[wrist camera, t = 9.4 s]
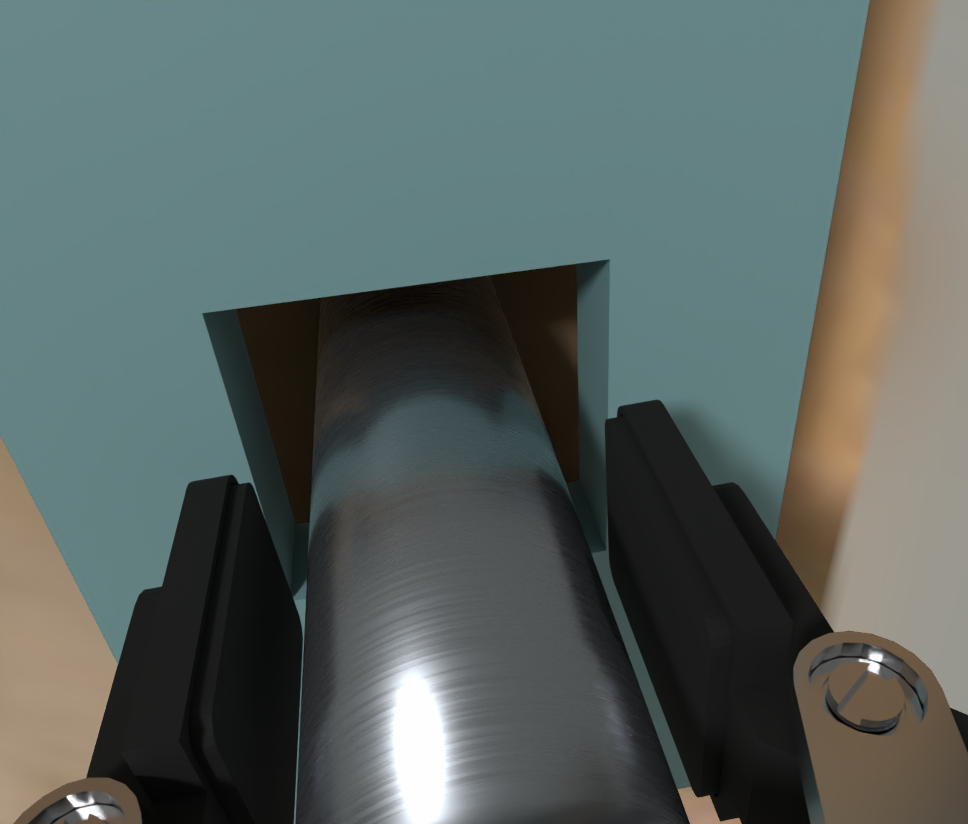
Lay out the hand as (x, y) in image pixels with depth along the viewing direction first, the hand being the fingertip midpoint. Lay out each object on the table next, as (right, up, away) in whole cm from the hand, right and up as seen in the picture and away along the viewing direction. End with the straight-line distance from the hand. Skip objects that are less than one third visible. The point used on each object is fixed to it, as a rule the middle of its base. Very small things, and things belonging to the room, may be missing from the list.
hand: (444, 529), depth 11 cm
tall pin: (-1, +4, +6) cm, 7 cm away
